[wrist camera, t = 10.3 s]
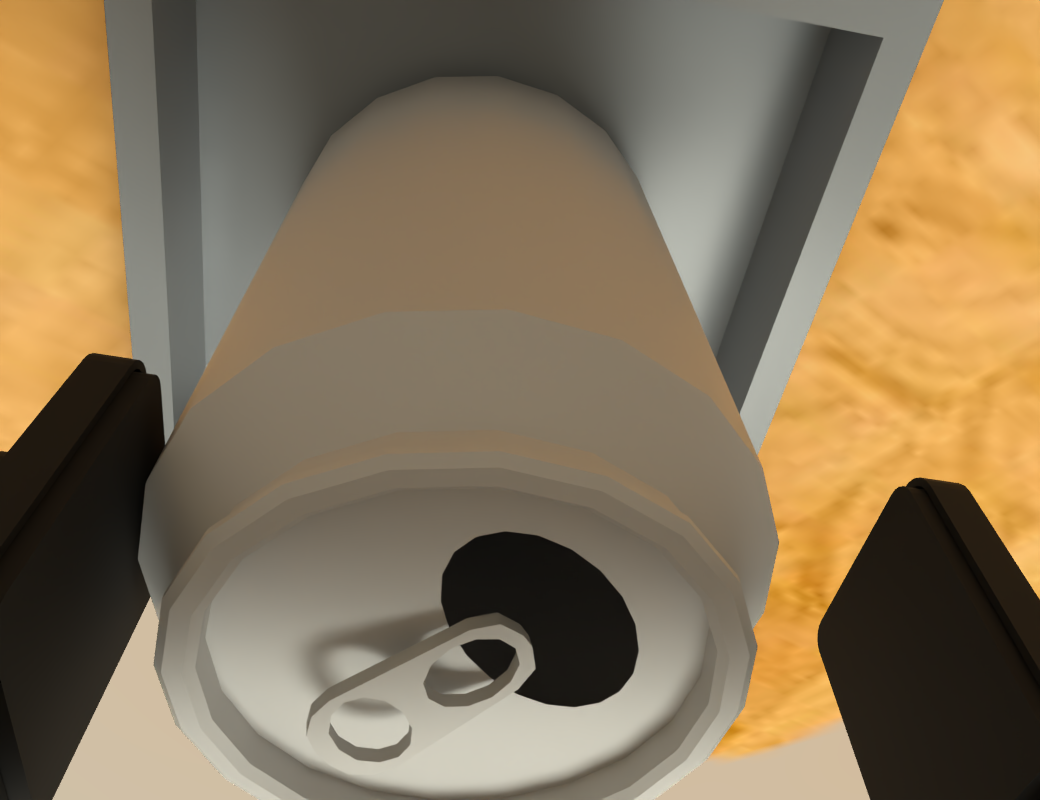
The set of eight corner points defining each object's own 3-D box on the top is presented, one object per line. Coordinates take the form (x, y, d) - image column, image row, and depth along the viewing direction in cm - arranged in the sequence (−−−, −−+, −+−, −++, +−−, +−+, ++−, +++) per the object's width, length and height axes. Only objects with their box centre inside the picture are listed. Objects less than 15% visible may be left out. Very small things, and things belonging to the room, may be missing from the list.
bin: (877, -26, 17) (945, -2, 14) (683, 503, 24) (705, 581, 21) (157, -174, 15) (89, -175, 13) (185, 440, 22) (145, 517, 20)
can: (695, 304, 20) (906, 786, 10) (416, 431, 22) (354, 949, 12) (552, -11, 16) (658, 249, 6) (228, 173, 18) (-105, 612, 8)
